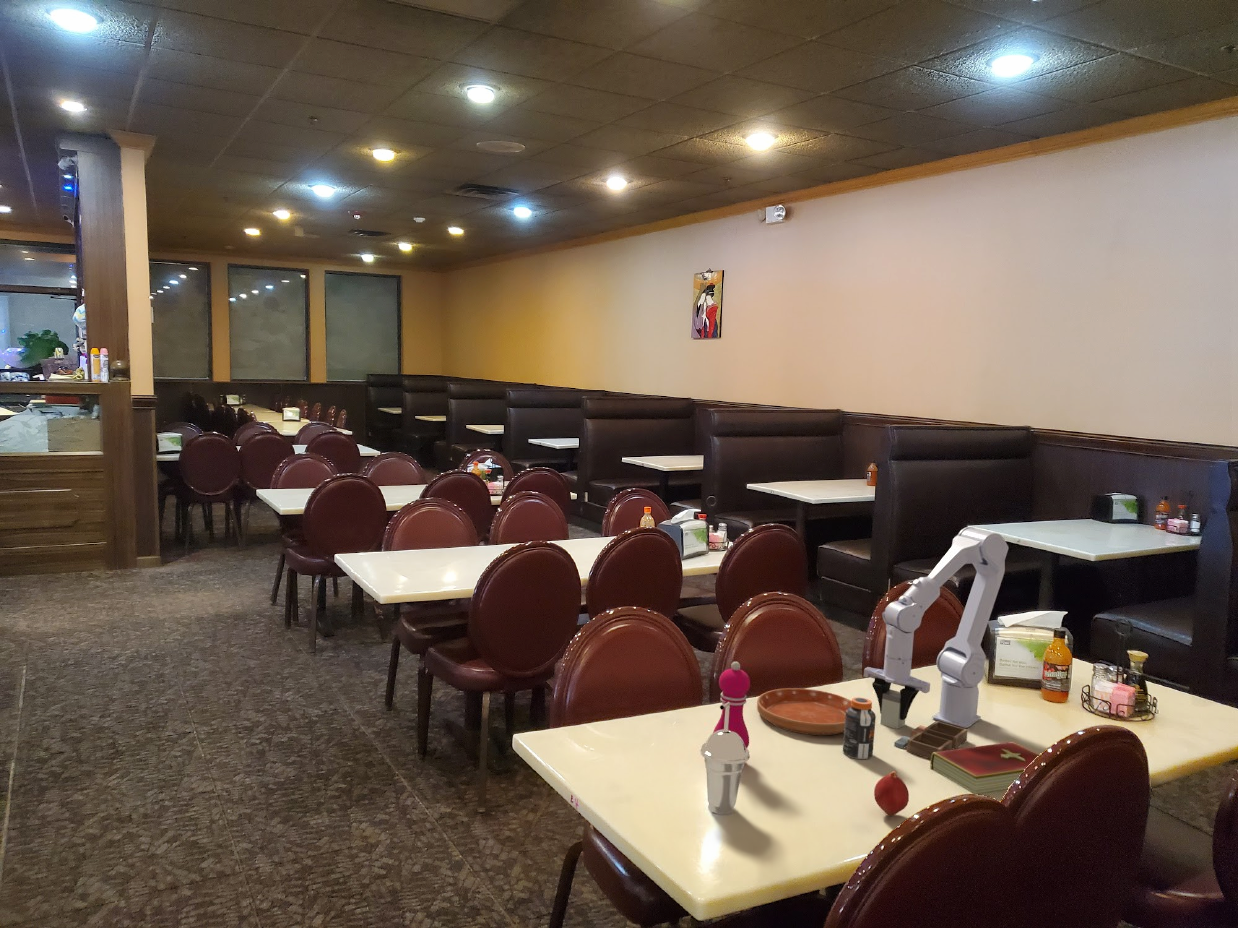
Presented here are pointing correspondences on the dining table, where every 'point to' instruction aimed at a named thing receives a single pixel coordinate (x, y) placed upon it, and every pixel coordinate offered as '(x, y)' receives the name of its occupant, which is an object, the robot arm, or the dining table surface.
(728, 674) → the pepper mill
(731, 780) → the cup with straw
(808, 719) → the saucer
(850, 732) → the pill bottle
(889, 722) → the plug
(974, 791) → the hardcover book
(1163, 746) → the dining table surface
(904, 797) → the onion
